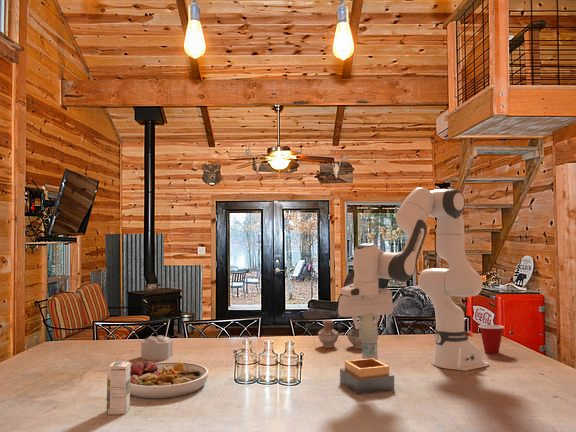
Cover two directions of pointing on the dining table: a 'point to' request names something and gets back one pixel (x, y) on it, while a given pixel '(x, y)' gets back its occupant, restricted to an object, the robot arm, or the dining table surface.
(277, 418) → the dining table surface
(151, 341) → the white lumpy-lid tub
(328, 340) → the pottery
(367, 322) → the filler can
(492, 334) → the plastic cup
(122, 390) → the syrup box
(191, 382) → the bowl
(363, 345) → the bottle
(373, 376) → the tan and grey box
